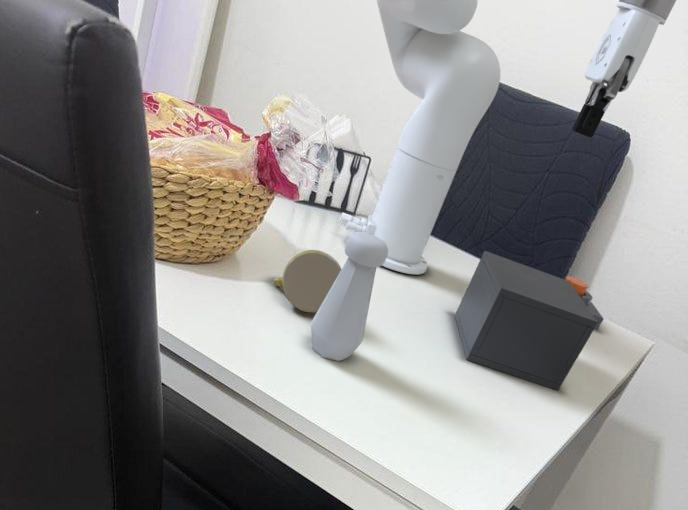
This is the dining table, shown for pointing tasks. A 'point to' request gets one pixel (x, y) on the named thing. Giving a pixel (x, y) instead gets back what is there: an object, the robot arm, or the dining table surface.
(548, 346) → the box
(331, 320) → the salt shaker
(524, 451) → the dining table surface
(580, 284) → the button
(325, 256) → the mug
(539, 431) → the dining table surface
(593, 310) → the panel
